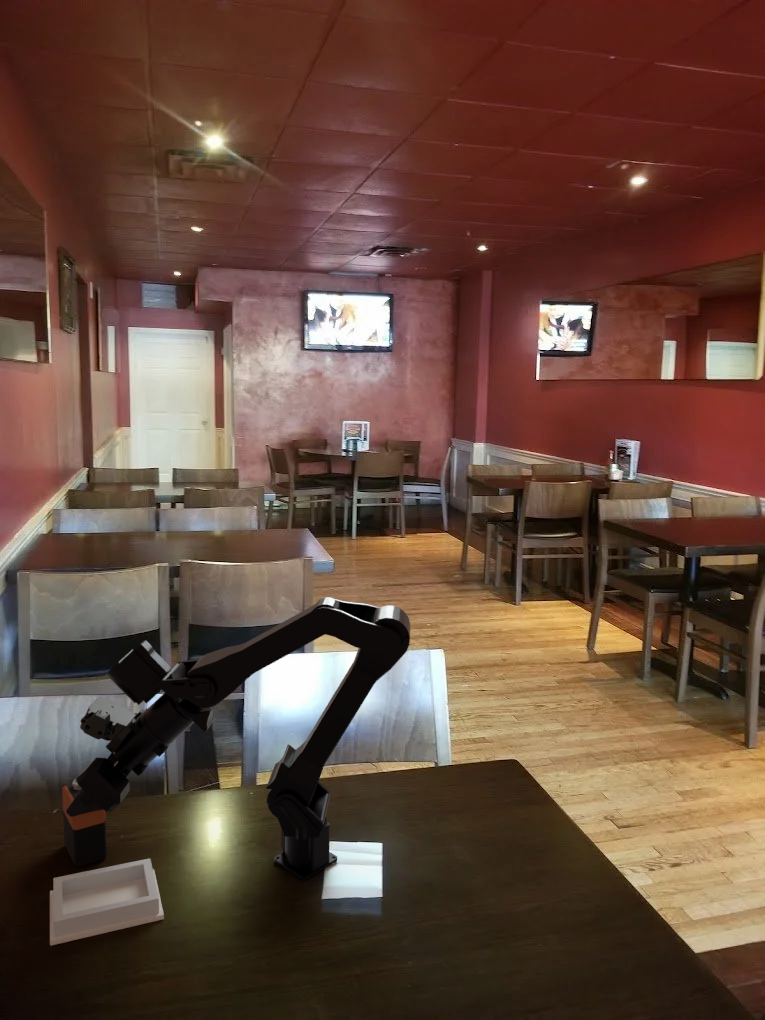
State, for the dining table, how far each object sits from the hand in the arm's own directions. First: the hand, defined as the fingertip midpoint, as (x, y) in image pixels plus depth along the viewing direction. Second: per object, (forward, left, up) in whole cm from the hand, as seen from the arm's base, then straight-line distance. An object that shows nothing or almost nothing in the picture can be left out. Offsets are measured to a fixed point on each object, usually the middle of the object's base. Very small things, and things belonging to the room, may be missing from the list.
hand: (82, 796), depth 110 cm
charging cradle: (-13, +4, -8) cm, 16 cm away
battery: (0, 0, -9) cm, 9 cm away
